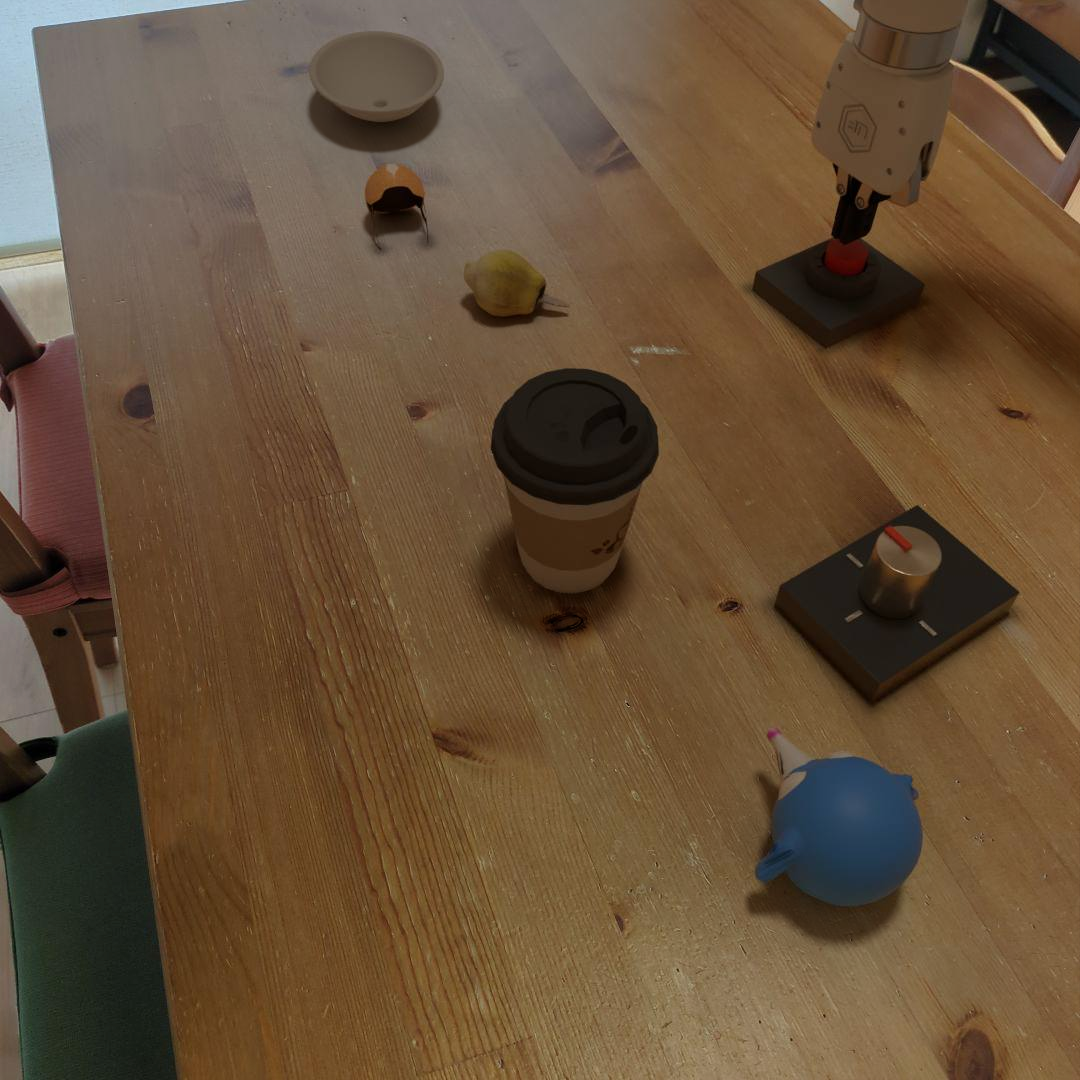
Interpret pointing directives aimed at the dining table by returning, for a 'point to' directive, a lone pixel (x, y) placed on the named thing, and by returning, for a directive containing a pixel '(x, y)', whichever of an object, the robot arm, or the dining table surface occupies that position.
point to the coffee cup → (573, 472)
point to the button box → (836, 292)
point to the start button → (845, 257)
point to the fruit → (507, 284)
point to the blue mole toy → (841, 826)
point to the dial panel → (883, 643)
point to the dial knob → (899, 571)
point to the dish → (376, 74)
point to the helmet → (394, 191)
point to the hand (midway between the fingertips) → (849, 235)
